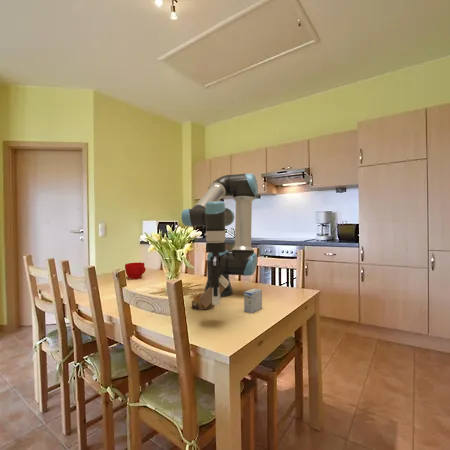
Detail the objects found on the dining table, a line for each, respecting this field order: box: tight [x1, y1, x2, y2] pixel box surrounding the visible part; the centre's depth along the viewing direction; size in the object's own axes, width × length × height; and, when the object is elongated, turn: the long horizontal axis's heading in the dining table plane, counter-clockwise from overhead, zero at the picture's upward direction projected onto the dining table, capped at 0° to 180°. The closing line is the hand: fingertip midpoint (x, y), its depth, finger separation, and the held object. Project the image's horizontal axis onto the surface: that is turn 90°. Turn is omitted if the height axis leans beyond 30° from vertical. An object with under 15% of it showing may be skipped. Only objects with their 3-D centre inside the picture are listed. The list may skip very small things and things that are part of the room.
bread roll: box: [191, 293, 215, 311], centre depth 125 cm, size 10×10×8 cm
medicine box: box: [243, 288, 263, 314], centre depth 119 cm, size 8×4×9 cm, turn 141°
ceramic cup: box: [124, 262, 147, 280], centre depth 188 cm, size 13×17×10 cm
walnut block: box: [199, 275, 229, 308], centre depth 105 cm, size 6×4×12 cm
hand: (216, 301), depth 105 cm, fingers closed on walnut block, 6 cm apart
